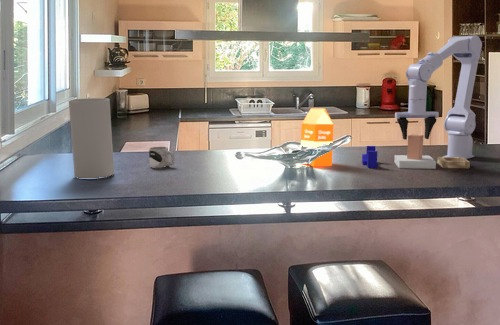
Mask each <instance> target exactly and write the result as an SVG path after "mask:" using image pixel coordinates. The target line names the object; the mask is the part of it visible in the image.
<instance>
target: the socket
mask: <svg viewBox="0 0 500 325" xmlns="http://www.w3.org/2000/svg"><path fill="white" fill-rule="evenodd" d="M436 160H437V161H436V164H438V165H439V166H440V167H441V168H442V169H470V166H471V162H470V160H468V159H465V158H463V157H443V156H437V159H436Z"/></svg>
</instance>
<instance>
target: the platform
mask: <svg viewBox="0 0 500 325" xmlns="http://www.w3.org/2000/svg"><path fill="white" fill-rule="evenodd" d="M394 164H395V166H397V168H398V169H428V170H429V169H430V170H431V169H434V170H436V169H437V161H436V160H435V159H434V158H433V157H431V155H426V154H425V155H424V154H423V155H422V158H421V159H419V160H416V159H407V154H406V155H405V154H404V155H403V154H401V155H399V154H394Z"/></svg>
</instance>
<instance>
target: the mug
mask: <svg viewBox="0 0 500 325" xmlns="http://www.w3.org/2000/svg"><path fill="white" fill-rule="evenodd" d="M169 155H170V157H171V162H170V161H169ZM148 156H149V157H148V158H149V160H148V161H149V167H150V166H154V167H164V166H169V167H170V166H173V165H175V160H176V159H175V153H174V152H173V151H170V150H169V147H167V146H153V147H148Z"/></svg>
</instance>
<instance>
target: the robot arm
mask: <svg viewBox="0 0 500 325" xmlns="http://www.w3.org/2000/svg"><path fill="white" fill-rule="evenodd" d="M482 46H483V42H482V40H481V38H480V37H479V35H476V34H473V35H465V36H463V35H462V36H456V35H455V36H452V37H450V38H449V39H448V40H447V42H446V44H444V46H442V47H441V48H440V49H438V51H429V52H428V53H426V56H425V57H423V58H422V59H418V62H417V63H411V64H410V65H409V66H408V67H407V69H406V72H405V77H406V79H407V85H408V109H407V110H408V111H402V112H395V113H394V118H395V119H396V121H397V123H398V125H399V128H400V131H401V135H402V140H406V141H408V125H409V120H408V119H423V120H424V139H426V140H429V139H430V136H431V133H432V130H433V128H434V125H435V124H436V123H437V118H439V116H440V114H439V113H440V112H439V111H427V94H428V93H427V92H428V90H427V87H428V81H430V79H431V77H432V74H434V72H435V71H437V69H439V68H440V67H442V65H443V62H444V60H446V59H448V58H449V57H450V56H453V57H454V58H455V59H456V60H457V61H459V62H460V63H461V68H460V72H459V78H458V84H457V90H456V95H455V101H454V106H453V107H452V108H451V109H449V110H448V111H447V114H446V117H445V119H444V121H443V127H444V129H445V131H446V134H448V137H447V138H448V139H447V154H446V155H443V156H442V157H463V158H465V159H466V160H468V159H471V158H474V157H475V155H473V146H474V140H473V137H472V134H473V132H474V131H475V129H476V125H477V124H476V114H475V112H474V111H473V110H472V109H471V104H472V103H471V102H472V99H473V98H472V97H473V93H474V92H473V91H474V86H475V81H476V75H477V72H478V71H477V70H478V64H479V60H480V58H481V52H482Z"/></svg>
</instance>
